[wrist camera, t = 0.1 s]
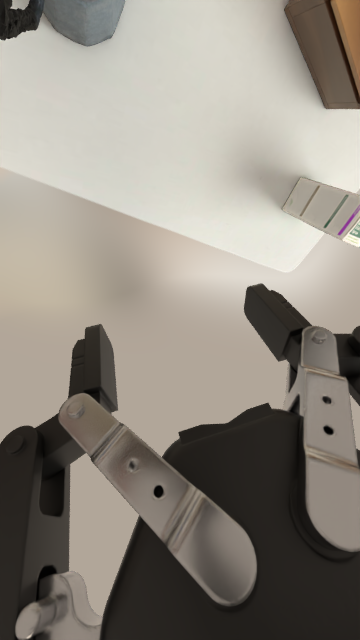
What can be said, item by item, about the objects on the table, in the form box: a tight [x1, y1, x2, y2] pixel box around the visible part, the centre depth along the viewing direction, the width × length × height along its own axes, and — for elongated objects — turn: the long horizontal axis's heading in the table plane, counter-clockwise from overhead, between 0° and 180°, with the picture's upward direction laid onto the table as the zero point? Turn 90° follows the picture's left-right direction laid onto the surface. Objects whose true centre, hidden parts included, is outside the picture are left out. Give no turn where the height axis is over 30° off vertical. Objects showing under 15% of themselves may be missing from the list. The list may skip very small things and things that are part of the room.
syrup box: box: [282, 177, 360, 248], centre depth 36 cm, size 6×6×14 cm
